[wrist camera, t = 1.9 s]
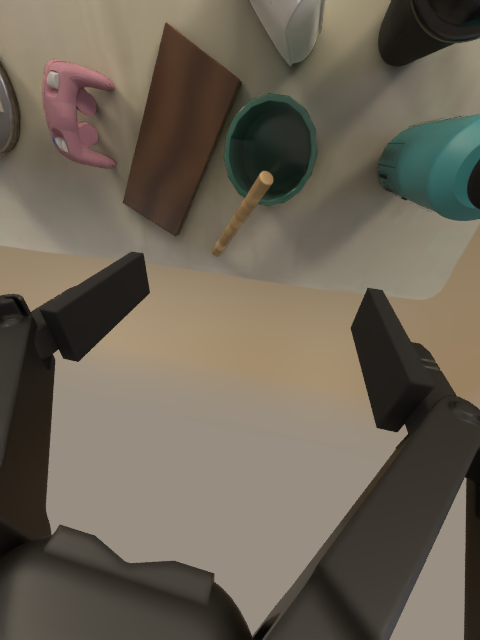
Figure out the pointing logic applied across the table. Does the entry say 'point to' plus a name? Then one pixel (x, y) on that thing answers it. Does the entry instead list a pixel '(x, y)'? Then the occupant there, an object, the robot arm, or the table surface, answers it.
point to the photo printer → (291, 25)
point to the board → (178, 130)
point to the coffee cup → (271, 147)
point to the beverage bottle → (436, 166)
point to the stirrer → (244, 210)
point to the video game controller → (73, 110)
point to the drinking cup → (426, 28)
